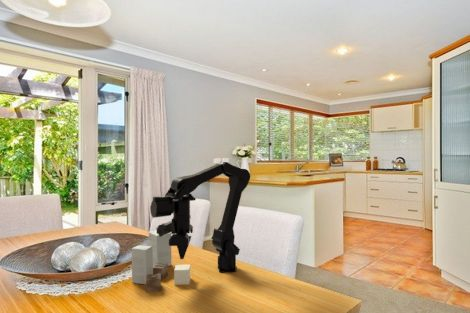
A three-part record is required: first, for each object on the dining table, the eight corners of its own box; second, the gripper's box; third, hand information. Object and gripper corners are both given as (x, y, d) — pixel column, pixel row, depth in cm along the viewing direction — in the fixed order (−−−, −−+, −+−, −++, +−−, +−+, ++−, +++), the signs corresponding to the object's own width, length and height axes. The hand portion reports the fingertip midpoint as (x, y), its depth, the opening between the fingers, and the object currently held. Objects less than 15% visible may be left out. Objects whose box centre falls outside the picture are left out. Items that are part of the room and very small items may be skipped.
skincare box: (153, 280, 106) (153, 246, 106) (146, 285, 102) (145, 249, 102) (139, 277, 108) (138, 244, 108) (131, 282, 104) (131, 248, 104)
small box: (171, 265, 120) (171, 232, 120) (156, 269, 116) (156, 235, 116) (162, 260, 127) (162, 229, 127) (148, 263, 123) (148, 231, 123)
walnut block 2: (160, 285, 102) (160, 272, 102) (160, 291, 98) (160, 278, 98) (147, 286, 101) (146, 274, 101) (146, 292, 97) (146, 279, 97)
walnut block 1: (167, 274, 111) (167, 263, 111) (162, 279, 107) (162, 267, 107) (156, 273, 112) (156, 262, 112) (150, 278, 108) (150, 267, 108)
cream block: (190, 278, 108) (190, 264, 108) (189, 284, 103) (188, 269, 103) (176, 278, 107) (176, 264, 107) (174, 284, 102) (174, 270, 102)
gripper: (163, 209, 114) (163, 250, 114) (152, 220, 95) (152, 269, 95) (192, 209, 114) (193, 250, 114) (187, 219, 96) (188, 268, 96)
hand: (182, 258), depth 105 cm, fingers closed
